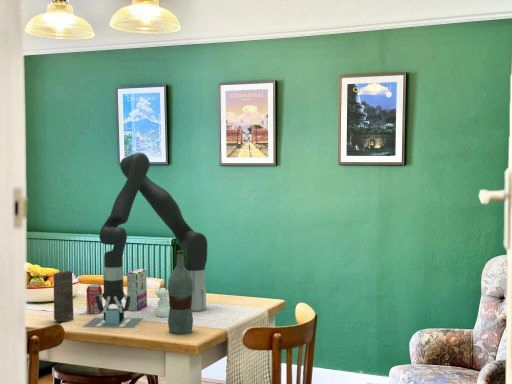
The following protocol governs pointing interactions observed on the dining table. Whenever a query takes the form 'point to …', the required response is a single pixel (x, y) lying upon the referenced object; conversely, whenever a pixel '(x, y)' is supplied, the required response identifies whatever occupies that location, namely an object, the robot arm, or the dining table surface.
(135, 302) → the candy bar box
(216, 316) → the dining table surface
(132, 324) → the letter board
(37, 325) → the dining table surface
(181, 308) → the bottle
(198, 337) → the dining table surface
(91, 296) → the soda can
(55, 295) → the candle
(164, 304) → the seated beast figurine
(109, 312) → the blue block
